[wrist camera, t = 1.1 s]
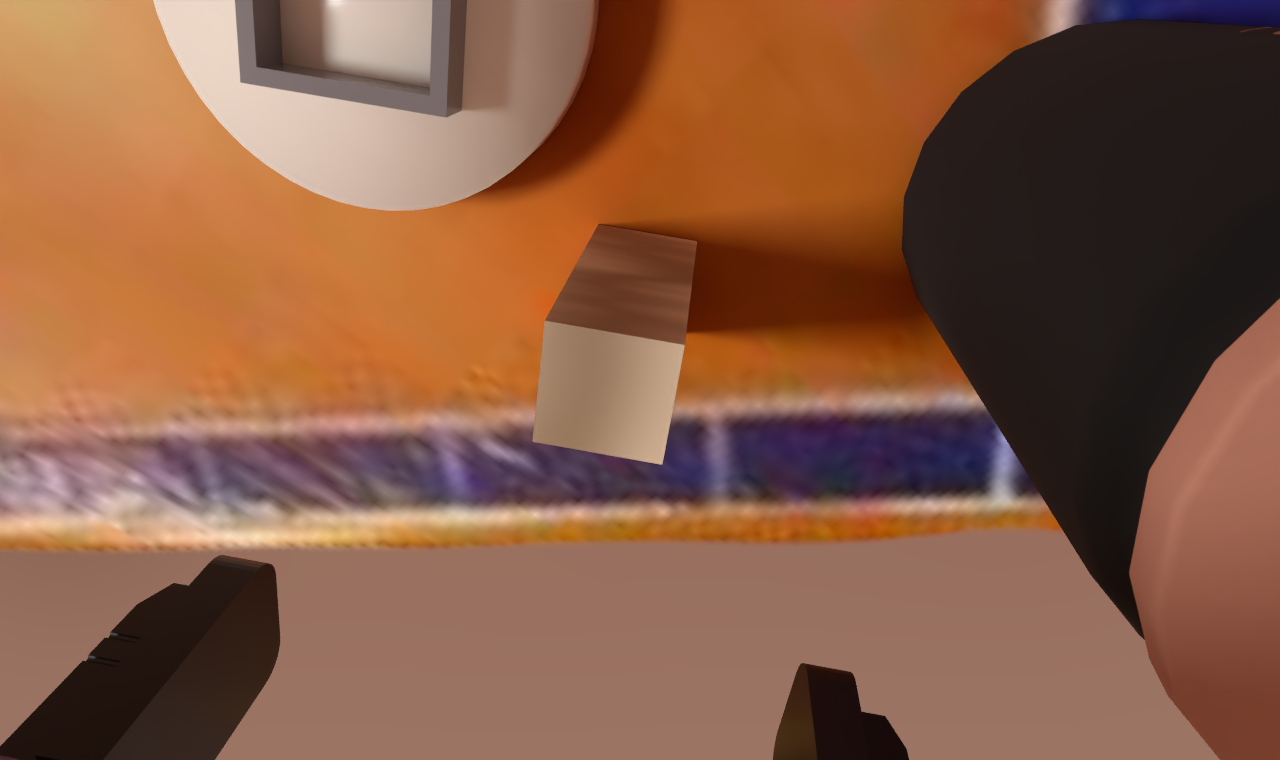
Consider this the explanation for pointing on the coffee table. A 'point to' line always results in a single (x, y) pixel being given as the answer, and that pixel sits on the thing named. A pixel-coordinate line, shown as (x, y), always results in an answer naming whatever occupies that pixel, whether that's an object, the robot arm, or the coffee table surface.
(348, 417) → the coffee table surface
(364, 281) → the coffee table surface
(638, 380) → the wood grain block
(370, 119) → the candle dish
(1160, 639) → the coffee jar
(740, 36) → the coffee table surface
